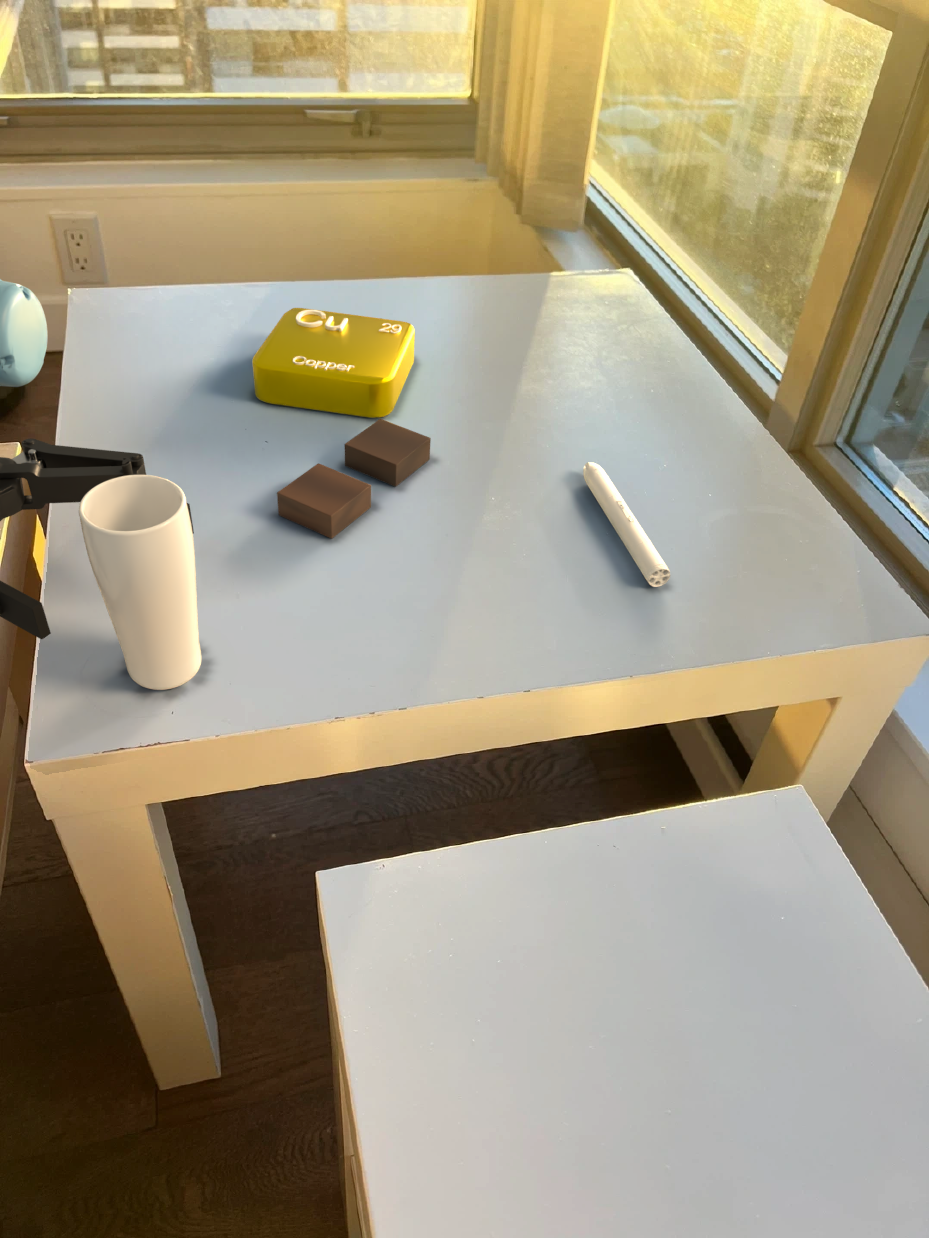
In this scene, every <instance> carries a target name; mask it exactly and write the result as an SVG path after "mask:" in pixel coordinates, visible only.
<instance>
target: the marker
mask: <svg viewBox="0 0 929 1238" xmlns="http://www.w3.org/2000/svg"><path fill="white" fill-rule="evenodd" d="M582 473H583V474H582V475H583V479H584V481H585V483H586V485H587V487H588V488H589V490H590V491H591V493H592V495H593V496H594V498H595V500H596V501H597V503H598V505H599V506H600V507H601V509H602V511H603V513H604V514H605V516H606V518H607V519H608V521H609V522H610V524H611V526H612V527H613V528H614V530H615V532H616V534H617V535H618V537H619V538H620V540H621V542H622V543H623V545H624V546H625V548H626V550H627V551H628V552H629V555H630V556H631V558H632V559H633V561H634V563H635V565H636V566H637V567H638V569H639V571H640V572H641V574H642V575H643V577H644V579H645V581H646V582H647V583H648V584H649V585H650V586H651V587H653V588H657V587H658V588H659V587H661V586H664V585H665V584H666V583H668V582H669V580H670V578H671V571H670V569H669V567H668V565H667V564H666V562H665V561H664V560H663V558H662V557H661V555H660V554H659V552H658V551H657V549H656V548H655V546H654V544H653V543H652V541H651V539H650V538H649V537H648V535H647V534H646V532H645V530H644V529H643V527H642V526H641V524H640V523H639V521H638V520H637V518H636V517H635V515H634V513H633V512H632V510H631V509H630V507H629V505H627V503H626V501H625V500H624V498H623V496H622V495H621V494H620V492H619V490H618V489H617V488H616V486H615V484H614V483H613V481H612V480H611V479H610V476H609V475H608V474H607V473H606V471H605V469H604V468H603V467H601V465H599V464H598V463H595V462H590V461H589V462H586V463H585V464H584V466H583V470H582Z"/></svg>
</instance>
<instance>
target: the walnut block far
mask: <svg viewBox="0 0 929 1238" xmlns="http://www.w3.org/2000/svg"><path fill="white" fill-rule="evenodd" d="M431 440H432V439H431V437H430V436H427V435H424V434H421V433H419V432H416V431H413V430H412V429H409V428H406V427H403V426H401V425H398V424H396V423H393V422H390V421H389V420H385V419H383V418H379V419H378V420H376V421H375V422H373V423H372V424H371V425H368V427H366V428H365V429H363V430H362V431H361V432H359V433H357V435H354V437H352V438H351V439H349V440H348V441H347V442H345V443H344V466H345V467H346V468H348V469H351V470H354V471H355V472H358V473H361V474H364V475H367V476H368V477H371V478H372V479H375V480H378V481H380V482H382V483H386V484H388V485H390V486H393V487H394V488H395V487H398V486H399V485H400V484H401V483H402V482H403V481H406V479H408V478H409V477H410V476H411V475H412V474H414V473H415V472H416V471H418V470H419V469H420V468H421V467H422V466H424V465H425V464H426V463H427V462H428V461H430V459H431V458H430V457H431V442H432V441H431Z"/></svg>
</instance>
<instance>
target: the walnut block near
mask: <svg viewBox="0 0 929 1238" xmlns="http://www.w3.org/2000/svg"><path fill="white" fill-rule="evenodd" d="M276 499H277V510H278V511H277V512H278V516H279V517H282V518H284V519H287V520H288V521H290V522H292V523H295V524H298V525H299V526H302V527H304V528H307V529H308V530H310V531H312V532H315V533H318V534H320V535H322V536H324V537H327V538H329V539H332V540H333V539H334V538H335V537H336V536H337V535H338V534H340V533H341V532H342V531H344V530H345V529H347V527H349V526H350V525H351V524H352V523H354V522H355V521H356V520H357V519H358V518H360V517H361V516H362V515H364V514H365V513H366V512H367V511H368V510H370V509H371V508H372V484H370V483H367V482H365V481H362V480H360V479H358V478H355V477H353V476H350V475H348V474H346V473H344V472H341V471H338V470H336V469H334V468H332V467H329V466H326V465H324V464H322V463H317V464H315V465H314V466H312V467H311V468H309V469H308V470H306V471H305V472H304V473H303V474H301V475H300V476H298V477H297V478H295V479H294V480H293V481H290V482H289V483H288V484H287V485H286V486H284V487H283V488H282V489H279V491H277V492H276Z"/></svg>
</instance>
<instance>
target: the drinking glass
mask: <svg viewBox="0 0 929 1238" xmlns="http://www.w3.org/2000/svg"><path fill="white" fill-rule="evenodd" d="M187 503H188V501H187V497H186V495H185V493H184V490H183V489H182V488H181V487H180V486H179V485H178V484H177V483H175V482H174V481H171V480H169V479H167V478H165V477H161V476H157V475H153V474H152V475H151V474H146V475H128V476H122V477H117V478H114V479H110V480H108V481H105V482H103V483H101V484H99V485H97V486H95V487H94V488H92V489H91V490H90V491H89V492H87V493H86V494H85V496H84V497H83V498H82V500H81V502H79V505H78V517H79V520H80V526H81V532H82V537H83V541H84V546H85V551H86V554H87V557H88V560H89V563H90V567H91V570H92V573H93V575H94V579H95V581H96V584H97V587H98V589H99V591H100V594H101V597H102V600H103V603H104V605H105V607H106V610H107V613H108V616H109V619H110V621H111V624H112V627H113V630H114V633H115V635H116V638H117V640H118V643H119V646H120V649H121V652H122V655H123V659H124V662H125V667H126V670H127V673H128V675H129V677H130V678H131V679H132V680H133V681H134V682H135V683H136V684H137V685H139V686H141V687H143V688H145V689H150V690H155V691H164V690H170V689H171V690H172V689H175V688H177V687H180V686H182V685H184V684H186V683H188V682H189V681H190V680H192V679H193V678H194V677H195V676H196V675H197V673H198V672H199V670H200V668H201V664H202V659H203V658H202V657H203V656H202V651H201V649H202V648H201V644H200V635H199V634H200V633H199V614H198V594H197V593H198V591H197V590H198V589H197V568H196V552H195V542H194V540H195V539H194V534H193V533H192V526H191V521H190V516H189V511H188V507H187Z"/></svg>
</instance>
